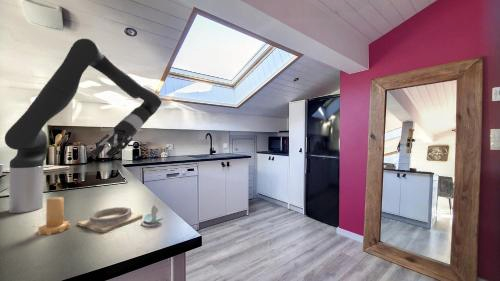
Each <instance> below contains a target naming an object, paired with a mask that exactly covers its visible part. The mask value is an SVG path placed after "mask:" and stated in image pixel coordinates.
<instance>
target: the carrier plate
mask: <svg viewBox="0 0 500 281" xmlns="http://www.w3.org/2000/svg"><path fill="white" fill-rule="evenodd" d="M143 217H144V216H143V214H138V213H136V212H135V213H134V212H132V210H131V208H129V207H124V206H122V207H121V206H120V207H119V206H118V207H110V208H109V207H108V208H103V209H101V210H96V211H95V212H93V213H91V214H90V216H89V218H85V219H82V220H79V221H77V222H76V226H78V225H80V226H79V227H82V226H83V227H82V228H85V227H86V229H88V230H92V231H95V232H98V233H102V234H105V233H108V232H110V231H113V230H115V229H118V228H120V227H123V226H125V225H129V224H131V223H133V222H136V221H139V220H141V219H144V218H143Z"/></svg>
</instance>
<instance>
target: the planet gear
mask: <svg viewBox="0 0 500 281" xmlns="http://www.w3.org/2000/svg"><path fill="white" fill-rule="evenodd" d="M64 204H65V197H64V196H53V197H50V198H47V199H46V213H45V214H46V218H45V219H46V223H45V224H44V225H42V226H38V230H37V231H38V233H37V234H38V236H40V235H46V236H49V235H50V236H51V235H52V234H53V235H54V234H57V233H62V232H64V231H66V230H67V229H71V225H72V224H71V221H70V220H67V221H65V220H64V218H65V217H64V213H65V210H64V208H65V207H64V206H65V205H64ZM65 229H66V230H65Z"/></svg>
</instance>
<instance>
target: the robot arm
mask: <svg viewBox="0 0 500 281" xmlns="http://www.w3.org/2000/svg"><path fill="white" fill-rule="evenodd" d="M88 67H91V68H93V69H94V70H96V71H98V72H99V73H101V74H102V75H104V76H106V77H107V78H108V79H109V80H110V81H111V82H112V83H113V84H115V85H116V86H117V87H118V88H120V89H121V90H122V91H123V92H124V93H126V94H127V95H128V96H129V97H130V98H132V99H141V100H143V102H142V103H141V104H140V105H139V106H137V107H135V108H134V109H133V110H131V112H130V113H129V114H128V115H126V116H125V117H123V119H121V120H120V121H119V123H117V124H116V125H115V126H114V127H113V133H112V134H109V133H107V134H105V136H103V137H102V138H101V139H100V140H99V141H98V142H96V146H97V147H96V148H94V150H92V151H91V154H92V156H94V157H99V155H100V154H101V153H102V152H103V151H104V150H106V149H107V148H110V149H109V150H108V151H106V153H105V155H106V156H107V157H108V158H112V157H113V156H114V155H115V154H116V153H117V152H118V151H120V150H125V148H127V146H128V145H129V144H130V143H131V142H132V140H133V138H134V136H135V135H136V134H137V133H138V132H139V130H141V129H142V127H143V125H144V124H146V123H147V122H148V120H149V119H150V118H151V117H152V116H153V115H154V114H155V113H156V112H157V111H158V110H159V108H160V107H161V105H162V102H163V101H162V99H161V97H160V95H158V94H157V93H156V92H154V91H152V90H151V89H148V88H147V87H144V86H143V85H142V84H140V83H139V82H138V81H137V80H135V79H134V78H133V77H131V76H130V75H129V74H127V72H124V71H123V70H122V69H120V68H118V66H116V65H115V64H114V63H113V62H111V61H110V59H109V58H108V57H107V56H106V55H105V54H104V53H103V51H102V50H101V48H100V47H99V46H98V45H97V44H96V43H95V41H93V40H91V39H89V38H80V39H78V40H75V42H73V44H72V45H71V47H70V49H69V51H68V53H67V54H66V56H65V58H64V59H63V62H62V63H61V64H60V66H59V67H58V68H57V70H55V72H54V73H53V74H52V76H51V78H50V79H49V80H48V81H47V82H46V83H45V84H44V86H43V87H42V89H41V90H40V91H39V93H38V95H37V96H36V97H35V99H34V100H33V101H32V103H30V105H29V107H28V108H27V109H26V110H25V112H24V113H23V115H21V116H20V117H19V118H18V119H17V120H16V122H15V123H13V124H12V125H11V127H10V128H9V129H8V130H7V131H6V133H5V135H4V143H5V145H6V146H7V147H8V148H10V149H11V150H17V151H16V155H15V157H13V158H12V159H10V161H9V187H8V188H9V192H8V194H9V195H8V213H9V214H10V213H11V214H22V213H28V212H33V211H36V210H40V209H42V208H43V206H44V205H43V204H44V203H43V202H44V163H45V162H44V161H45V160H46V158H47V150H48V149H47V148H48V137H47V133H46V132H45V131H44V130H43V128H44V127H45V126H46V124H47V123H48V122H49V121H50V120H51V119H52V118H54V117H55V116H57V115H58V114H59V113H61V112H62V111H63V110H64V109H65V108H67V106H69V104H70V103H71V101H72V100H73V98H74V97H75V96H76V94H77V92H78V89H79V86H80V82H81V78H82V76H83V74H84V72H85V71H86V70H87V69H88Z"/></svg>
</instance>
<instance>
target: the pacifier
mask: <svg viewBox="0 0 500 281" xmlns="http://www.w3.org/2000/svg"><path fill="white" fill-rule="evenodd" d="M150 211H151V213H148V214H146V215H145V216H144V218H143V220H142V221H141V223H140V224H141V226H143V227H147V228H148V227H149V228H151V227H155V226H157V224H158V223H159V222H160V221H162V220H164V218H163V217H161V218H158V216H157V213H158V212H159V207H158V205H156V204H154V205H153V206H152V207H151V210H150ZM147 223H148V224H147Z"/></svg>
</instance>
